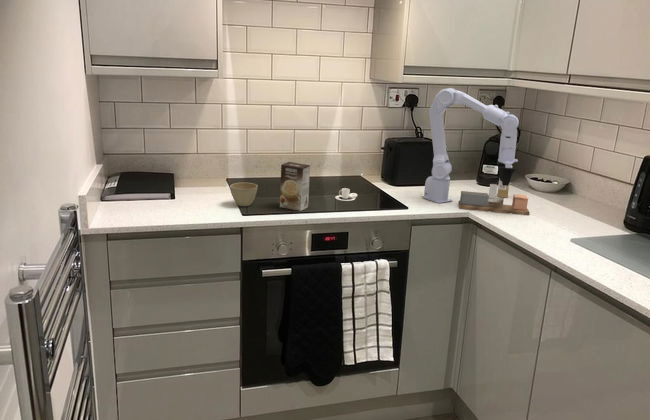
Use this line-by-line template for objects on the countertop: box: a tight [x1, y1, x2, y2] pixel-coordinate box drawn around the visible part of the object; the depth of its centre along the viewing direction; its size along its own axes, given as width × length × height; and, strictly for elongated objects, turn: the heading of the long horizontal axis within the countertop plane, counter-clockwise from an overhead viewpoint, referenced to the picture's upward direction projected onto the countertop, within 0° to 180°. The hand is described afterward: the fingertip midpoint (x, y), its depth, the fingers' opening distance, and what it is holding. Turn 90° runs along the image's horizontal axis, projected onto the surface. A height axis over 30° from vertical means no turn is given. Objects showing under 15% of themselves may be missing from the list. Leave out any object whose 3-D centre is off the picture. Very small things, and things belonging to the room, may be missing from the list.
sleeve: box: [459, 190, 489, 207], centre depth 207 cm, size 10×4×4 cm, turn 80°
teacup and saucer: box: [334, 187, 358, 202], centre depth 211 cm, size 9×8×4 cm
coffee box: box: [279, 161, 311, 212], centre depth 194 cm, size 9×6×16 cm
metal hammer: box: [488, 183, 505, 205], centre depth 205 cm, size 14×3×8 cm, turn 80°
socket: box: [511, 193, 529, 211], centre depth 204 cm, size 4×5×5 cm
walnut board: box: [457, 200, 530, 216], centre depth 206 cm, size 26×8×1 cm, turn 80°
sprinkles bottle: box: [496, 165, 513, 199], centre depth 224 cm, size 5×5×13 cm
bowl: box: [229, 182, 258, 207], centre depth 196 cm, size 10×10×7 cm
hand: (504, 183), depth 204 cm, fingers open, 7 cm apart
